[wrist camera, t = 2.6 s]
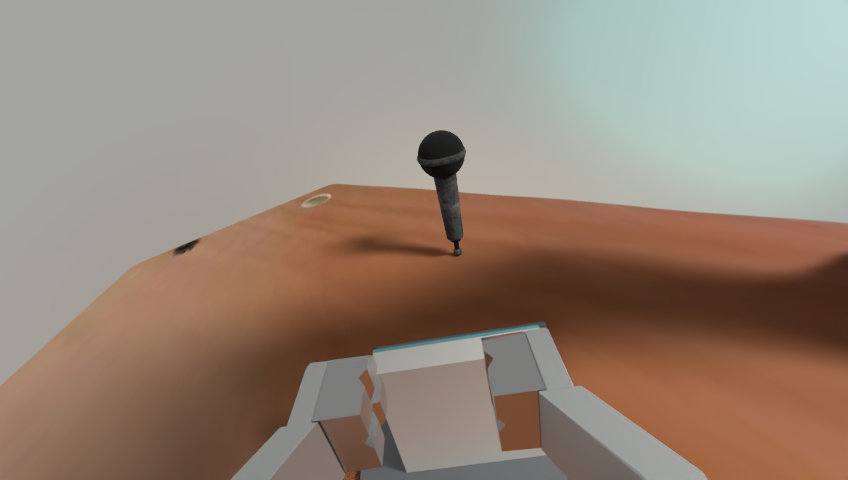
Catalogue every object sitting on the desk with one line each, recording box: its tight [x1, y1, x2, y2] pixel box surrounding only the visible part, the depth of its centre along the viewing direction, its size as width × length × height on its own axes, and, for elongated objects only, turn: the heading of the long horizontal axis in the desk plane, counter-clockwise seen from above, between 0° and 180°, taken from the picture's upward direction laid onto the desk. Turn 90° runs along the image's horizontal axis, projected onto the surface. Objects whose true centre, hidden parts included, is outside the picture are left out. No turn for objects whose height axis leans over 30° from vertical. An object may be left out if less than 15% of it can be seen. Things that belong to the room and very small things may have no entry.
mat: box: [360, 321, 569, 480], centre depth 36 cm, size 18×20×1 cm
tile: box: [373, 325, 546, 473], centre depth 28 cm, size 2×12×12 cm, turn 91°
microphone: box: [417, 130, 466, 256], centre depth 55 cm, size 7×7×20 cm
